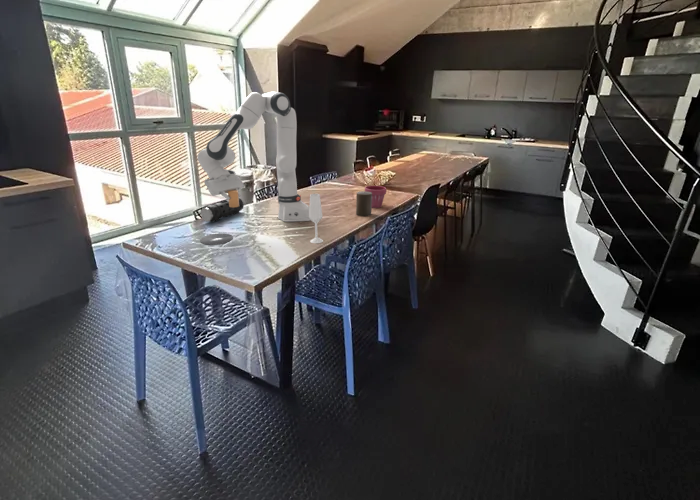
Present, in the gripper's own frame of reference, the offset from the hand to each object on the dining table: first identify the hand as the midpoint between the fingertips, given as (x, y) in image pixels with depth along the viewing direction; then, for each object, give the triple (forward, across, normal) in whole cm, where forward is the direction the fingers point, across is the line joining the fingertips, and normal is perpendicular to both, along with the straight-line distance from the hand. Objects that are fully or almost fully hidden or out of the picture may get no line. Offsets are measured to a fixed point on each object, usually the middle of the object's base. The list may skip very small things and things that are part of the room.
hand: (234, 198), depth 195 cm
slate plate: (+12, -11, +17) cm, 23 cm away
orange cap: (+3, 0, +4) cm, 4 cm away
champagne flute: (+44, +14, -16) cm, 48 cm away
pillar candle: (+40, +70, -14) cm, 81 cm away
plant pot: (+38, +90, -12) cm, 98 cm away
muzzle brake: (-8, +18, +37) cm, 42 cm away
